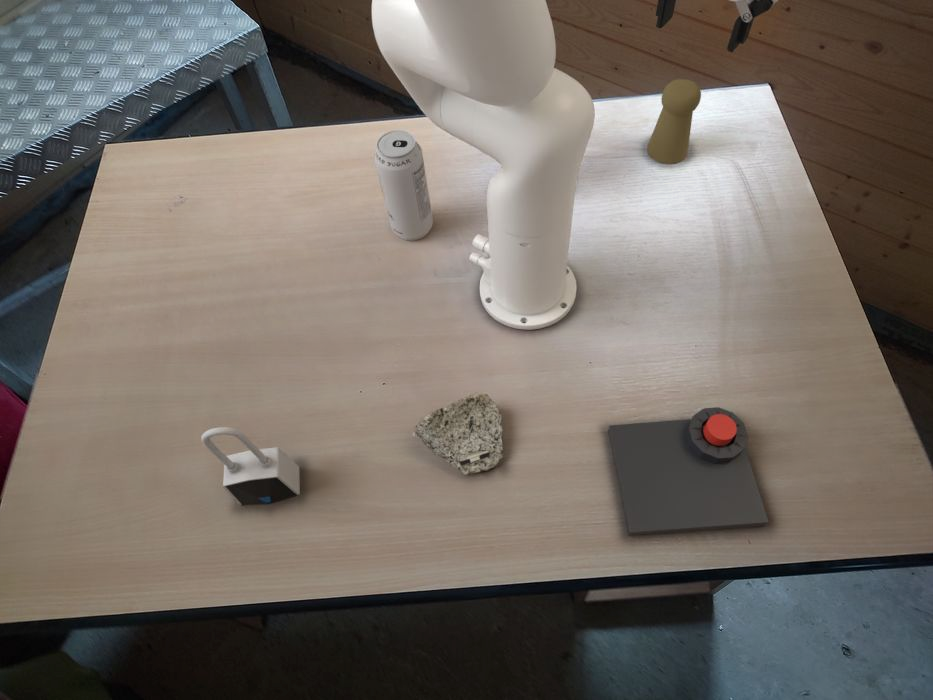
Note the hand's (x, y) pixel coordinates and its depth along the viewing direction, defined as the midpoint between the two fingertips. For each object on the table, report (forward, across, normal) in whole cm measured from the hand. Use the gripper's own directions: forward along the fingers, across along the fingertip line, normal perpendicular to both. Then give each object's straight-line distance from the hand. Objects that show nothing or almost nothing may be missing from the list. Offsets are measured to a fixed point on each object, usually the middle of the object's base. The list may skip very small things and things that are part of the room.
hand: (698, 34), depth 79 cm
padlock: (+17, +10, +74) cm, 76 cm away
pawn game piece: (+18, 0, +1) cm, 18 cm away
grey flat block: (+18, -26, +46) cm, 55 cm away
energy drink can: (+18, +22, +35) cm, 45 cm away
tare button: (+15, -27, +40) cm, 51 cm away
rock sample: (+18, -5, +56) cm, 59 cm away
